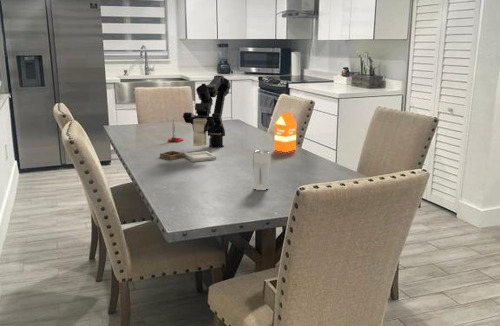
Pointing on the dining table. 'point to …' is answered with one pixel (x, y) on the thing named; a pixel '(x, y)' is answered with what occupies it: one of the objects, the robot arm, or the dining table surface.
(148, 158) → the dining table surface
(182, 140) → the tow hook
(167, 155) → the walnut collar
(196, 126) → the tan wooden block
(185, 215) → the dining table surface
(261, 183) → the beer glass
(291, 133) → the orange juice
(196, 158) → the tray
